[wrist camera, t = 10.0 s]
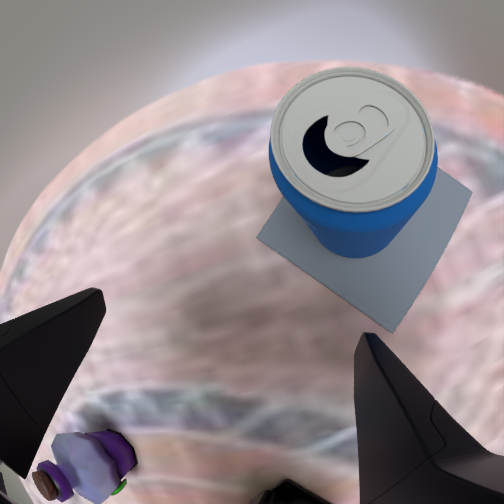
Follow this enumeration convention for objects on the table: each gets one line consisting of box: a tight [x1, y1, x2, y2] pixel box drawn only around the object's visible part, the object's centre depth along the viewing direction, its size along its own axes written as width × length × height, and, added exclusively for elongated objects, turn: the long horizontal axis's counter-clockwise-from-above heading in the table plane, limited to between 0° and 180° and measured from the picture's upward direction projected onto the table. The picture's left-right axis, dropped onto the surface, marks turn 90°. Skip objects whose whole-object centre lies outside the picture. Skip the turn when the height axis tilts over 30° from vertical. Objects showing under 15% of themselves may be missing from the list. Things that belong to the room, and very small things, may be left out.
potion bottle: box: [32, 429, 138, 504], centre depth 20 cm, size 9×9×12 cm
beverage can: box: [269, 67, 438, 258], centre depth 14 cm, size 6×6×12 cm
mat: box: [256, 167, 472, 334], centre depth 20 cm, size 12×12×1 cm
